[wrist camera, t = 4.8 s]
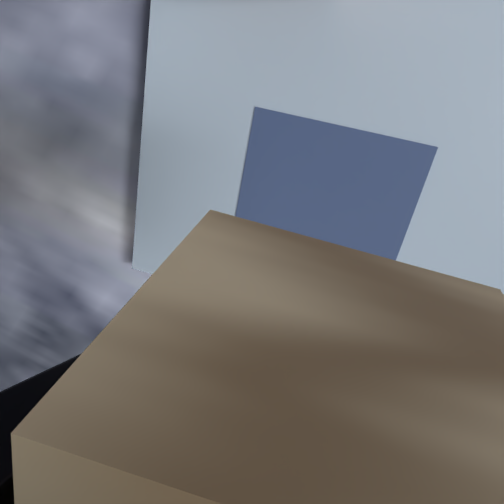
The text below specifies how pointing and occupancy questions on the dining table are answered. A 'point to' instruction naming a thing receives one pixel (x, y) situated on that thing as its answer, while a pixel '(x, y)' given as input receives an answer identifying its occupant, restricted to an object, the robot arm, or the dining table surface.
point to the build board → (329, 127)
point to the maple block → (278, 384)
